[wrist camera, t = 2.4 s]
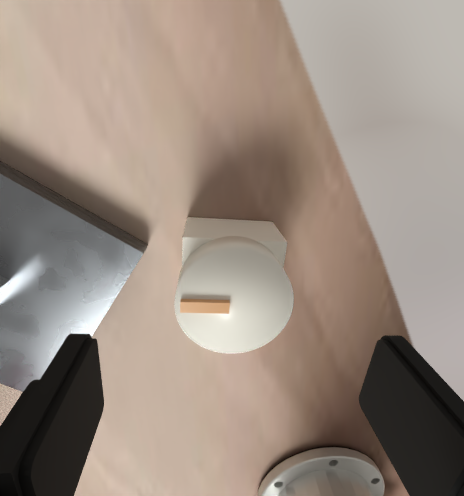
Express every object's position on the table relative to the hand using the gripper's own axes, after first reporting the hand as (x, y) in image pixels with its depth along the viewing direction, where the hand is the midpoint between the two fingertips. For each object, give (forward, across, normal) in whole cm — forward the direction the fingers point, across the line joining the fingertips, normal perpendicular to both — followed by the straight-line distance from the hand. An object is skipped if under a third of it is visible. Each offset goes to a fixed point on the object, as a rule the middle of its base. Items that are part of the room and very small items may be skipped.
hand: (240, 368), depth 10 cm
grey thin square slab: (+11, +14, +3) cm, 18 cm away
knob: (+11, 0, +1) cm, 11 cm away
